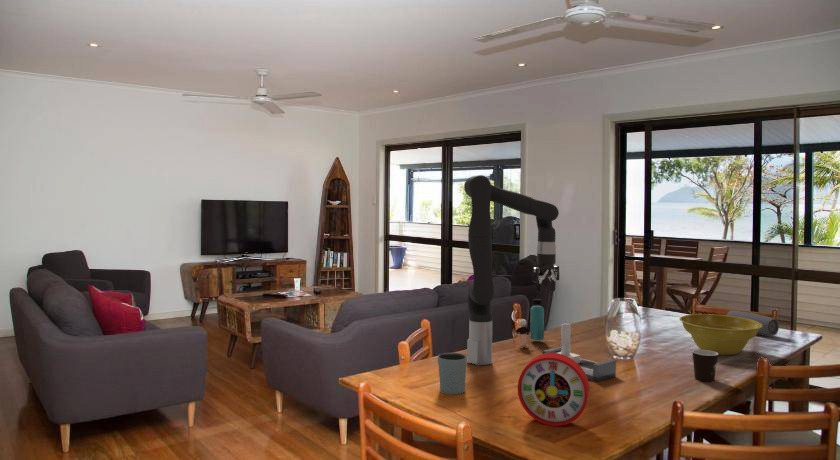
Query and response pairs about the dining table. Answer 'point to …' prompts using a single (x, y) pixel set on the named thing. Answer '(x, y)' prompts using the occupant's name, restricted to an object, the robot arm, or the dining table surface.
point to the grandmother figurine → (523, 334)
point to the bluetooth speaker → (768, 323)
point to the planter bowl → (720, 332)
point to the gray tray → (593, 367)
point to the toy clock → (553, 389)
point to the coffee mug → (704, 365)
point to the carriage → (567, 343)
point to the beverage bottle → (537, 321)
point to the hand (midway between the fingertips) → (545, 291)
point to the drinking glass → (452, 372)
